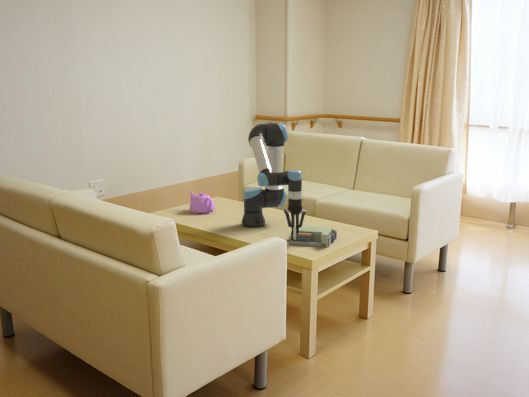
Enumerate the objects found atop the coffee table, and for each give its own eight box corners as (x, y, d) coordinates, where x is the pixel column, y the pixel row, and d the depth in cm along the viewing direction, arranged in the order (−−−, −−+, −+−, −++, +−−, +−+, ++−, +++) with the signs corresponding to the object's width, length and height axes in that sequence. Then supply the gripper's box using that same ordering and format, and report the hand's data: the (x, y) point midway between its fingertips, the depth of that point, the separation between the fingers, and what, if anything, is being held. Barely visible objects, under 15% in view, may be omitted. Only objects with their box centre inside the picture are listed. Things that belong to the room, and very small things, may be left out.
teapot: (222, 211, 395) (221, 192, 392) (202, 216, 383) (201, 196, 380) (199, 206, 412) (199, 188, 410) (180, 211, 400) (179, 192, 397)
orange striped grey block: (296, 243, 313) (296, 234, 312) (298, 241, 318) (298, 231, 316) (310, 244, 310) (310, 235, 309) (312, 242, 315) (312, 232, 314)
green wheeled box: (286, 244, 313) (286, 232, 311) (296, 234, 332) (296, 223, 330) (329, 247, 305) (329, 235, 304) (336, 237, 324) (336, 225, 323)
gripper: (281, 199, 309) (282, 240, 314) (304, 200, 305) (304, 241, 310) (285, 196, 316) (286, 236, 321) (308, 197, 312) (308, 238, 317)
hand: (295, 239), depth 315 cm, fingers closed
